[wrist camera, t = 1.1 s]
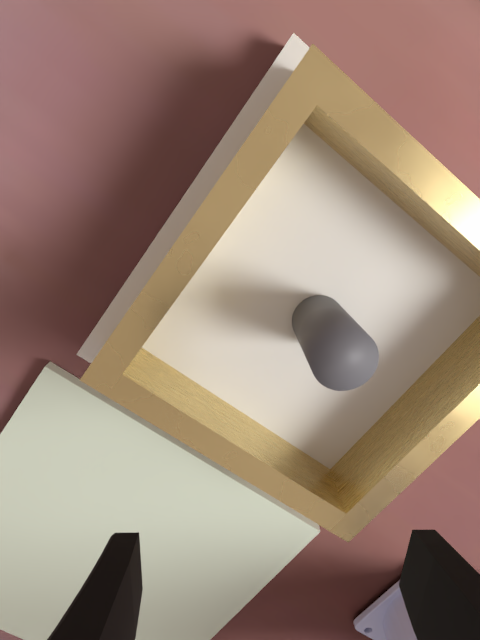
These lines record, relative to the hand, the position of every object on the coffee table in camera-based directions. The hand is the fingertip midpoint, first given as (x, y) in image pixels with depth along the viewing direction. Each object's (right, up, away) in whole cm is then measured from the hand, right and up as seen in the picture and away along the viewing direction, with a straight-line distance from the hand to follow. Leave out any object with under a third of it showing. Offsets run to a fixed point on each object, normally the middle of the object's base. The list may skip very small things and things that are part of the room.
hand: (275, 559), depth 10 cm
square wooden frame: (+3, +6, +8) cm, 10 cm away
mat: (-9, -8, +14) cm, 18 cm away
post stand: (+3, +7, +9) cm, 12 cm away
